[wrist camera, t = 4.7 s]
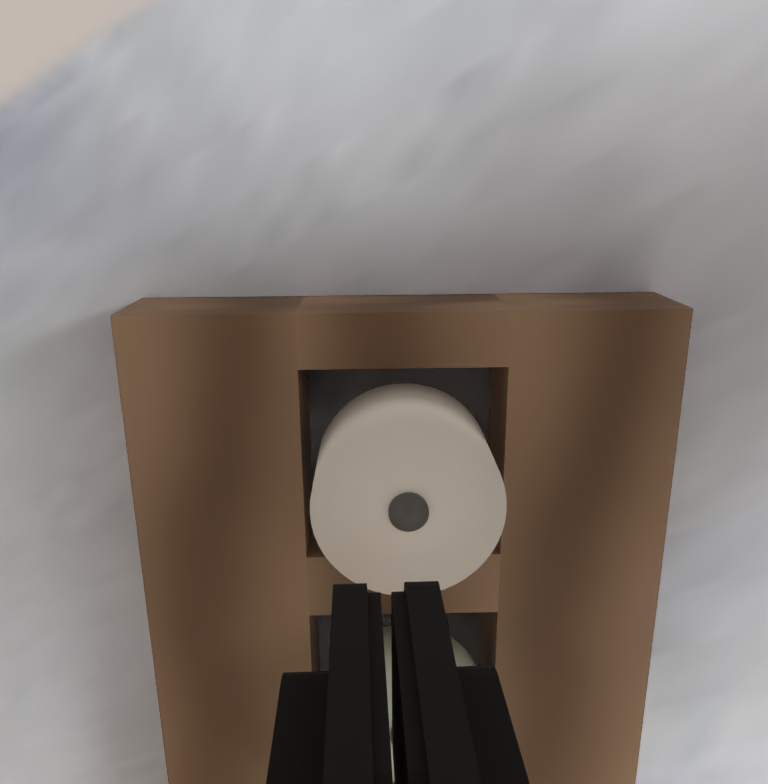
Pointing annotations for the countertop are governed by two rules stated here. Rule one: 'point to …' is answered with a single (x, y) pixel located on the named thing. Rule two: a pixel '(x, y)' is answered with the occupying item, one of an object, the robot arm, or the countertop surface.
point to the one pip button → (406, 490)
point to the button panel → (315, 587)
